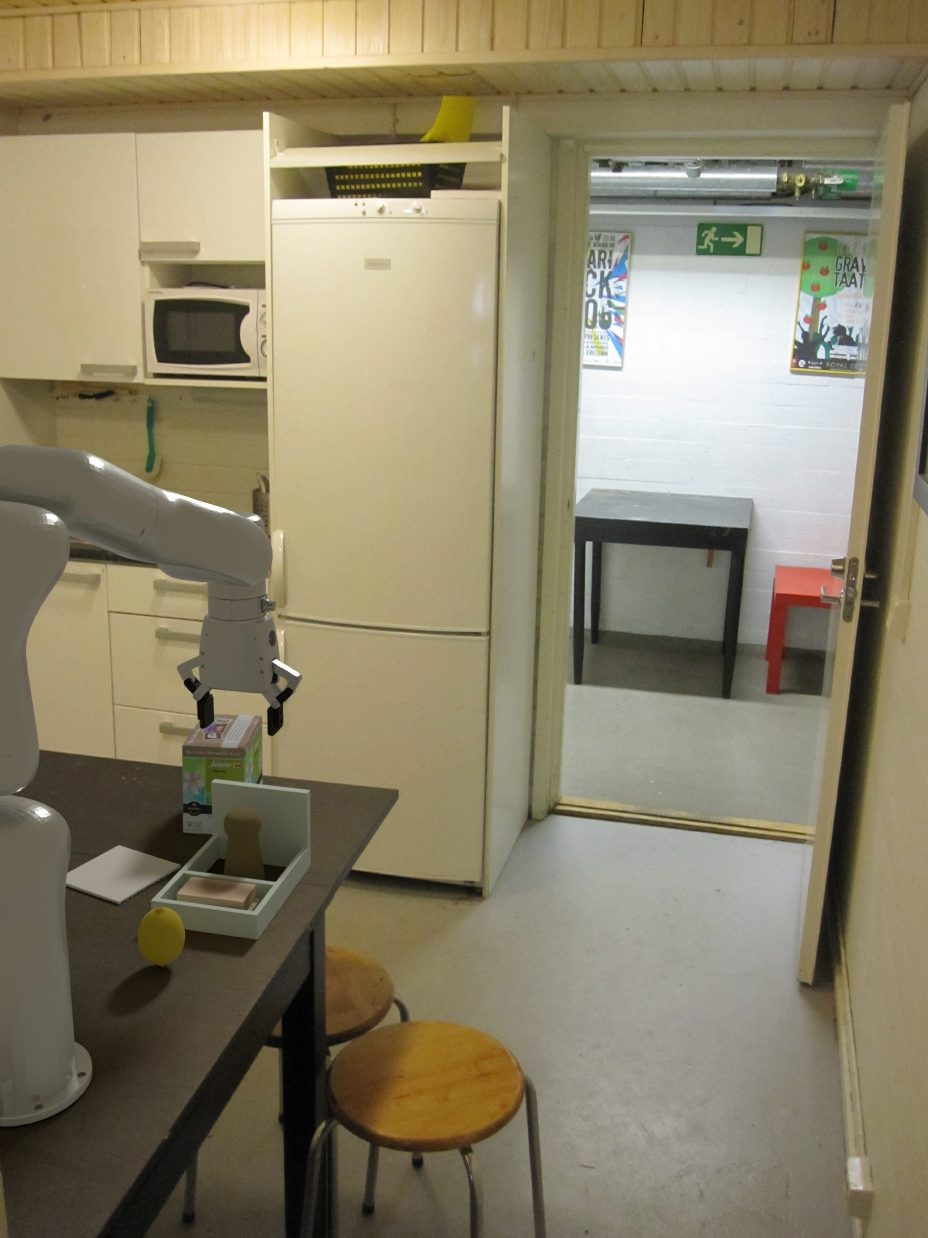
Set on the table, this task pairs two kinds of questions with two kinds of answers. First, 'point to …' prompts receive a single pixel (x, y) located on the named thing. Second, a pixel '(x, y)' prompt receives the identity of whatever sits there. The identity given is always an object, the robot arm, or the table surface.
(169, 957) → the lemon
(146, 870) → the mat
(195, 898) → the offcut upper
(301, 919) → the table surface
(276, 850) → the rack
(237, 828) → the cork
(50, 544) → the robot arm
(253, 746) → the tea box
